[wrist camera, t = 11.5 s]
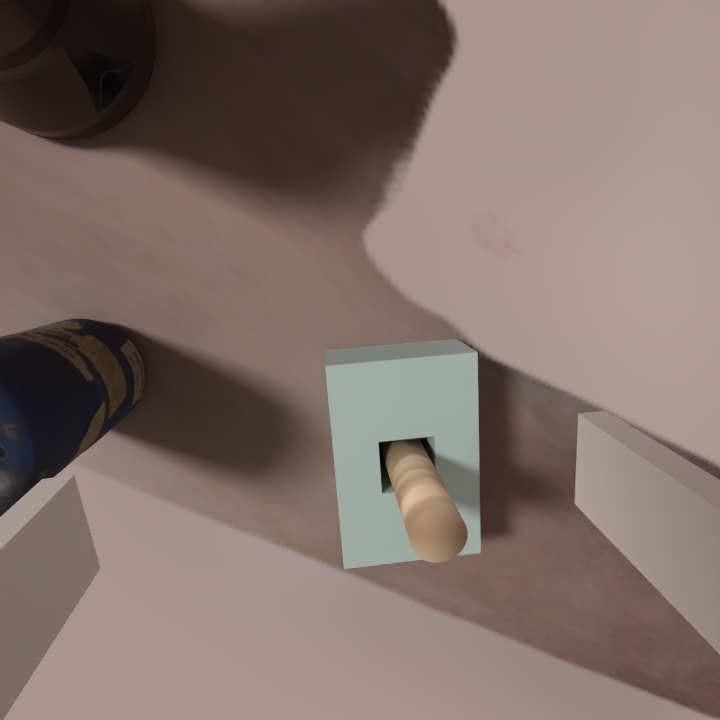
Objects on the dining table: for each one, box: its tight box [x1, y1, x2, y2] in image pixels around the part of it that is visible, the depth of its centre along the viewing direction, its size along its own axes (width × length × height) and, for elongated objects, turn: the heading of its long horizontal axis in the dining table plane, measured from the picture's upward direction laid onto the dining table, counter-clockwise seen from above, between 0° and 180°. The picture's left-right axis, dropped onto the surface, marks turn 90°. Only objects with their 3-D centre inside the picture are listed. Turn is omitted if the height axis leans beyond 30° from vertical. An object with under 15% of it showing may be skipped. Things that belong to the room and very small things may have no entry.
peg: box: [379, 438, 468, 563], centre depth 36 cm, size 4×4×16 cm
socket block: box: [325, 339, 481, 569], centre depth 41 cm, size 18×12×6 cm, turn 4°
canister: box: [0, 319, 145, 516], centre depth 32 cm, size 10×10×18 cm
